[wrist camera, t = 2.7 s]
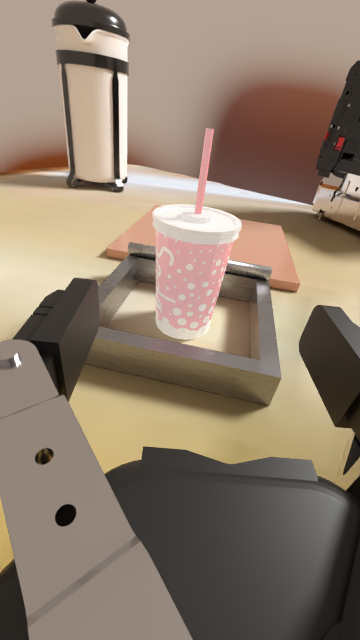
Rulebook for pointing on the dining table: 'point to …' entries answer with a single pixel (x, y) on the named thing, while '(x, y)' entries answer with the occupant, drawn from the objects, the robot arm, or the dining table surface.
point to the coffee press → (93, 90)
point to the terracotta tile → (251, 247)
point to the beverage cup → (191, 259)
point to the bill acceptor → (342, 159)
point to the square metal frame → (184, 360)
